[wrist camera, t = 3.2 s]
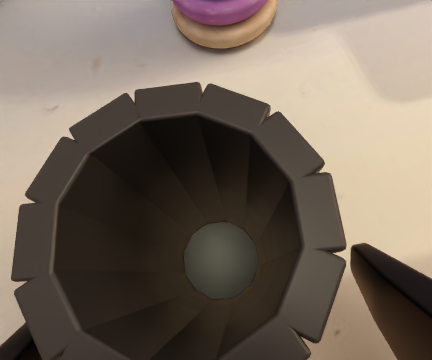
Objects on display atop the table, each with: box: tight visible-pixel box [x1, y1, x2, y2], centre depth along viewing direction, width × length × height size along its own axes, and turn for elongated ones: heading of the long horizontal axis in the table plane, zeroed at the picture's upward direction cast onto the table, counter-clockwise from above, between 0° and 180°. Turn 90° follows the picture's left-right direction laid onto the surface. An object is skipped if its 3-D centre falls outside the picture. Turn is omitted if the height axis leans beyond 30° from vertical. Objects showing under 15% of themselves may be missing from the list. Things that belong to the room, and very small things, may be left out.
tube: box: [11, 82, 347, 360], centre depth 12 cm, size 6×6×13 cm
